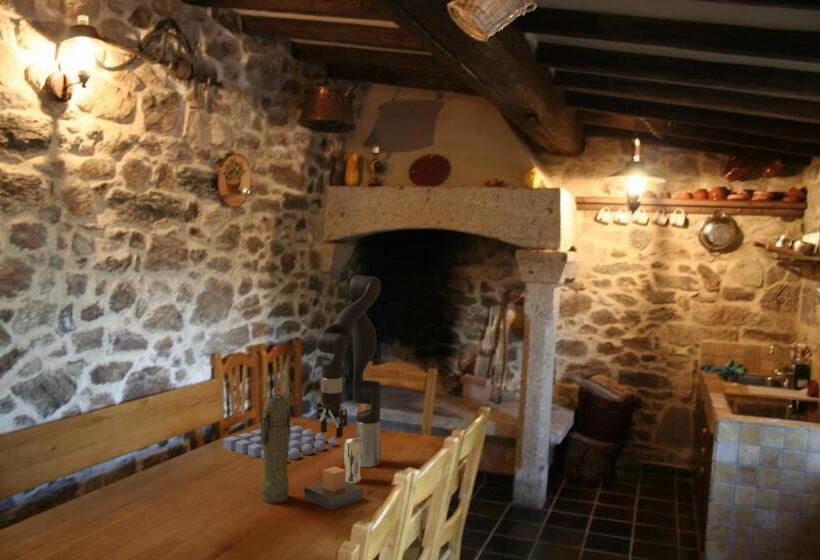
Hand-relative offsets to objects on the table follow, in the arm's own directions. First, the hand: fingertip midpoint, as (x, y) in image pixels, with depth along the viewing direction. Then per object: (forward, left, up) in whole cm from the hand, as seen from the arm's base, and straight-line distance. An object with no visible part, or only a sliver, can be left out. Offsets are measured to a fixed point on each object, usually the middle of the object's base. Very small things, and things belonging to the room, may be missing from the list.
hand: (331, 434), depth 246 cm
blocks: (-16, -53, -20) cm, 59 cm away
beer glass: (-12, -2, -20) cm, 23 cm away
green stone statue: (+20, -5, -20) cm, 28 cm away
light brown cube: (+5, +8, -16) cm, 18 cm away
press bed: (+5, +8, -20) cm, 22 cm away
